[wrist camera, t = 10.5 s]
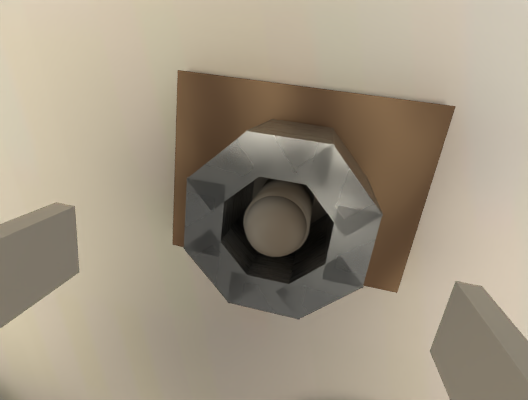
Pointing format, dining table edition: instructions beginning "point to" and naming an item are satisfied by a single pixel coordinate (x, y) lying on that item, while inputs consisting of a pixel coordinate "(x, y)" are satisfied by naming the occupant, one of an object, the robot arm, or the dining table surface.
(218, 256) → the ring
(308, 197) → the shaft stand
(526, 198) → the dining table surface
